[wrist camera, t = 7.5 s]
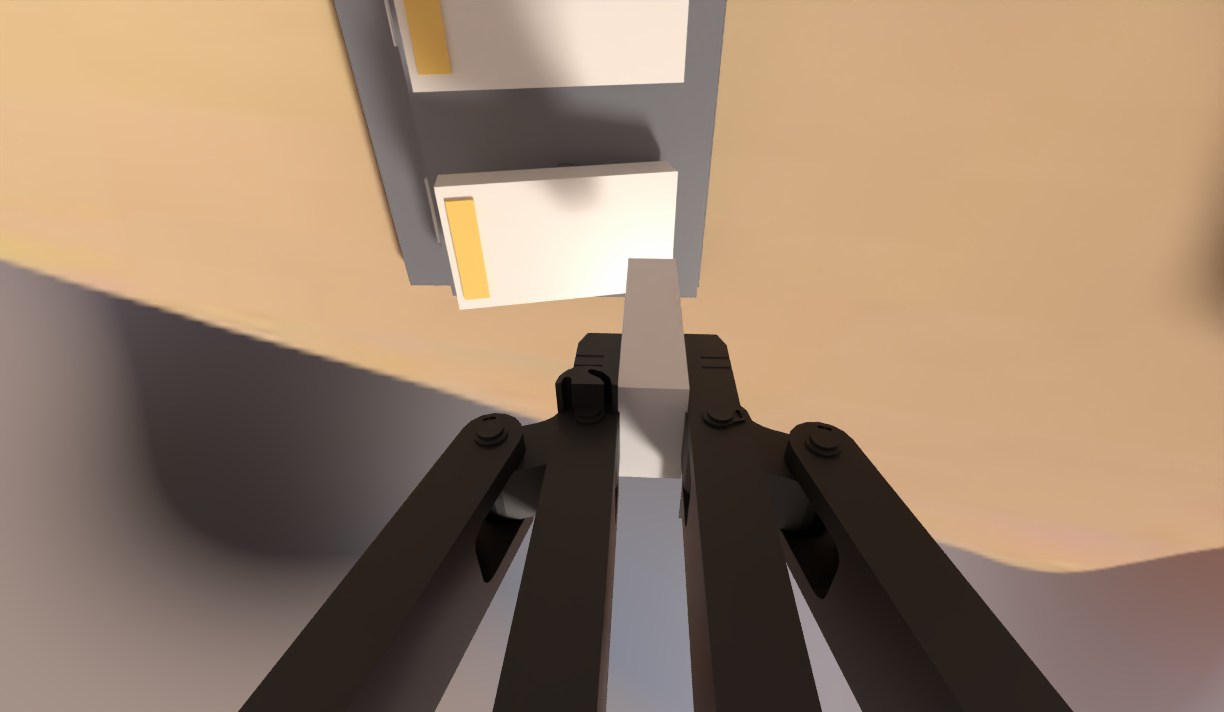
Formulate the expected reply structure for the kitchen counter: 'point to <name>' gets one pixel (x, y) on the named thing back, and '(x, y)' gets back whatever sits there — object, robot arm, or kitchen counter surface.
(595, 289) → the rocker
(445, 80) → the rocker
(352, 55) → the switch unit
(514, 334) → the kitchen counter surface
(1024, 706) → the robot arm
